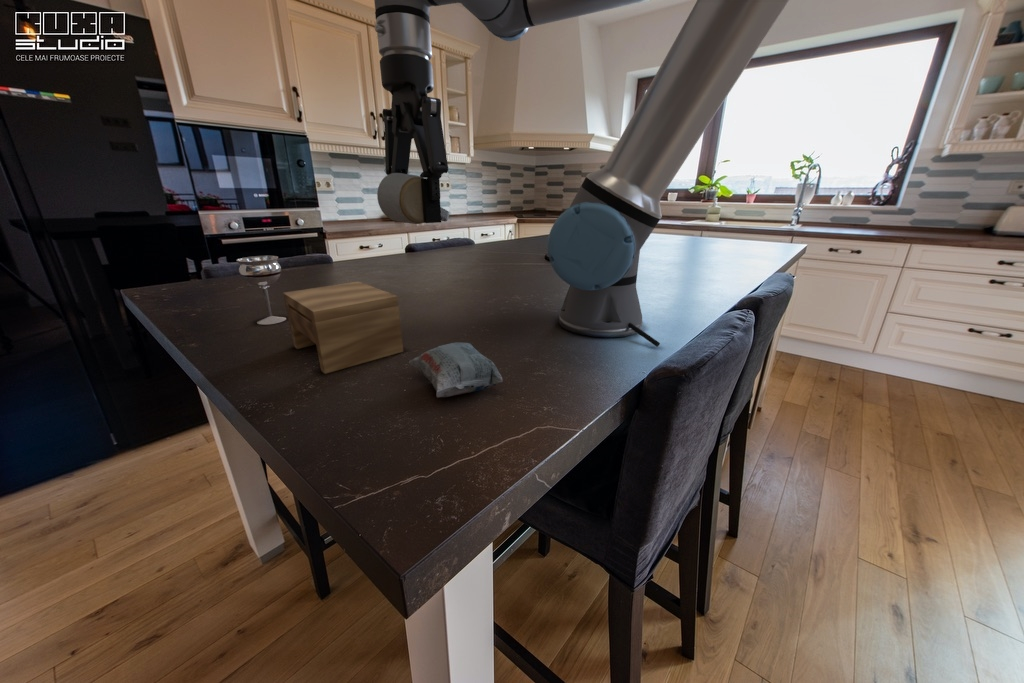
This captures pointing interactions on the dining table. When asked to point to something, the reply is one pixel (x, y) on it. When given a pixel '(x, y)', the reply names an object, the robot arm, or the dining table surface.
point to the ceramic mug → (403, 198)
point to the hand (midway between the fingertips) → (418, 221)
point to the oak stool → (345, 323)
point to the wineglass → (261, 278)
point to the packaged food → (457, 369)
